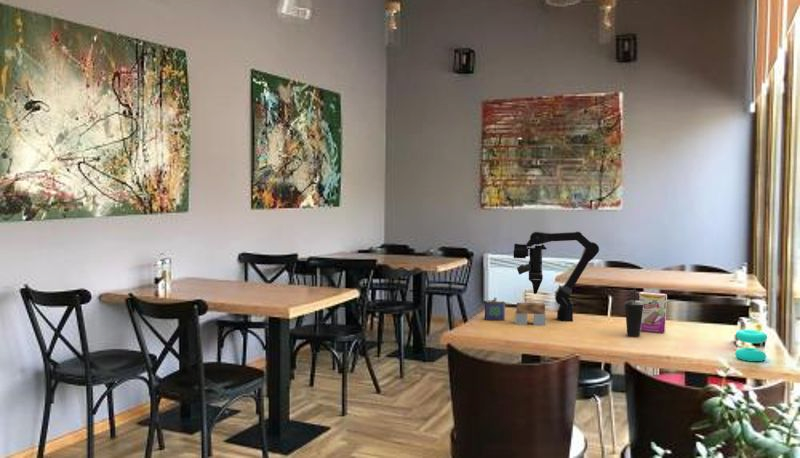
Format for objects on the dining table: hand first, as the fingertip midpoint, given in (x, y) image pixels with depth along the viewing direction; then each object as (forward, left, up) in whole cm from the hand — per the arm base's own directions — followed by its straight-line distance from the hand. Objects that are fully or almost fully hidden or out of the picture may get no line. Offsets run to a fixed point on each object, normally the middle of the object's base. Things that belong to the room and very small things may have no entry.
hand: (535, 292), depth 317 cm
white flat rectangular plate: (+2, +13, -12) cm, 18 cm away
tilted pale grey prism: (+6, +13, -12) cm, 19 cm away
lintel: (+2, +13, -7) cm, 15 cm away
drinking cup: (-40, +27, -13) cm, 50 cm away
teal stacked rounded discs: (-76, +58, -13) cm, 96 cm away
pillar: (-2, +13, -12) cm, 18 cm away
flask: (+18, +8, -13) cm, 23 cm away
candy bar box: (-49, +16, -13) cm, 53 cm away
